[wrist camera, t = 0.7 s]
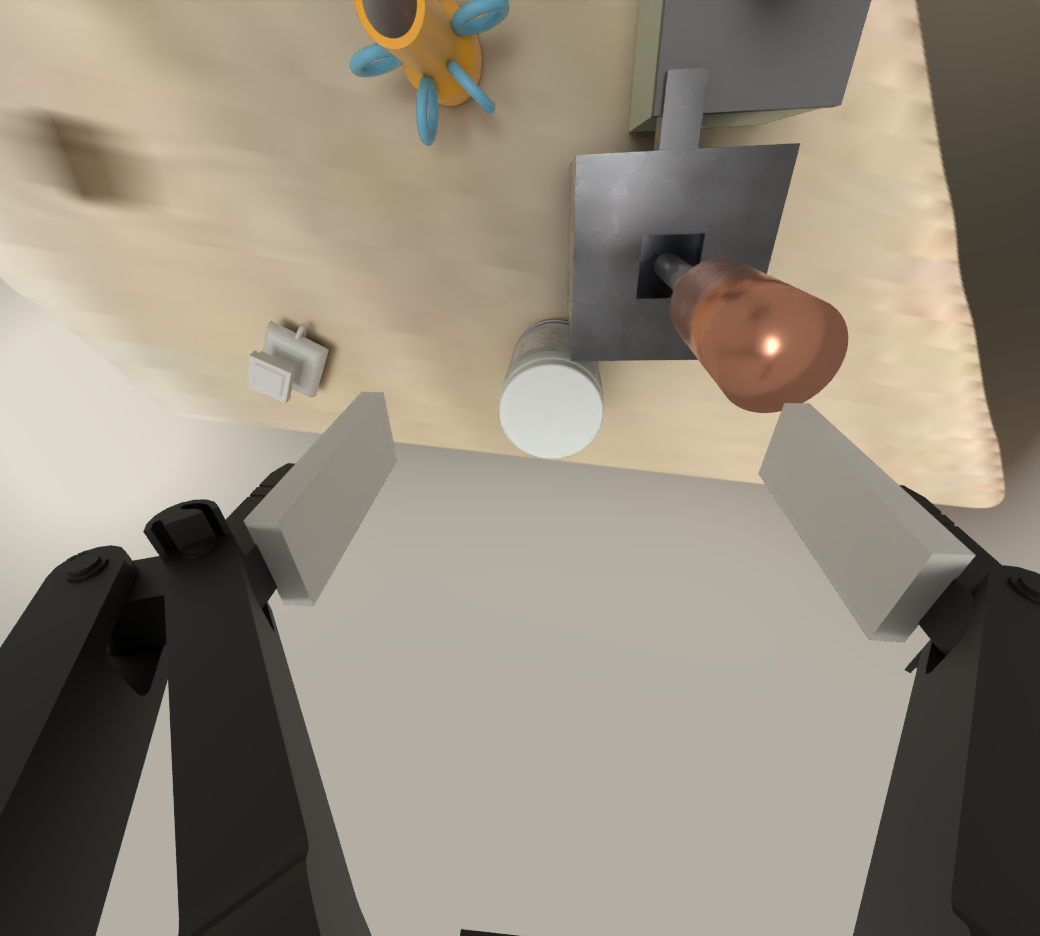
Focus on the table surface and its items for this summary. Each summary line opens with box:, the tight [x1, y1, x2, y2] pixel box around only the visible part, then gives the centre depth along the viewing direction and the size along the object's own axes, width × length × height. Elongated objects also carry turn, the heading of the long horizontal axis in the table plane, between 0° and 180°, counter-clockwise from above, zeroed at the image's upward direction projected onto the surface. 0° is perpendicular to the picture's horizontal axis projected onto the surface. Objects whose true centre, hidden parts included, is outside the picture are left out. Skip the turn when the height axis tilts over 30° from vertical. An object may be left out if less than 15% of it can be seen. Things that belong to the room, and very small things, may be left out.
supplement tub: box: [499, 320, 604, 458], centre depth 44 cm, size 10×10×15 cm
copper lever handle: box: [654, 253, 848, 413], centre depth 22 cm, size 4×4×19 cm
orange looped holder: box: [350, 0, 509, 146], centre depth 30 cm, size 12×10×15 cm
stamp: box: [247, 321, 329, 403], centre depth 49 cm, size 9×7×8 cm
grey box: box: [568, 67, 800, 361], centre depth 35 cm, size 17×13×16 cm
